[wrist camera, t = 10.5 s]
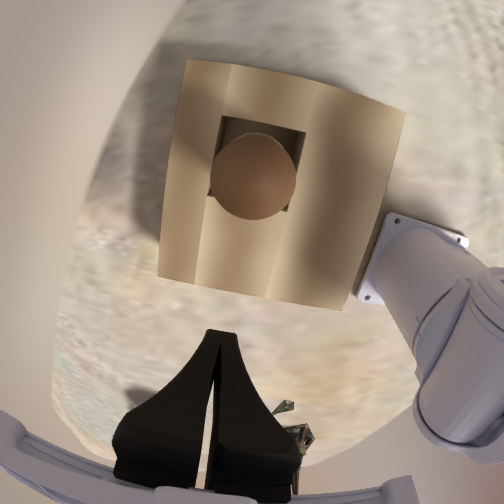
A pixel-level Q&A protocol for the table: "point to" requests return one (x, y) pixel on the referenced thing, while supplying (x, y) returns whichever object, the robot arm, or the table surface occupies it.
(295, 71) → the table surface
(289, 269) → the socket block
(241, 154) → the peg
